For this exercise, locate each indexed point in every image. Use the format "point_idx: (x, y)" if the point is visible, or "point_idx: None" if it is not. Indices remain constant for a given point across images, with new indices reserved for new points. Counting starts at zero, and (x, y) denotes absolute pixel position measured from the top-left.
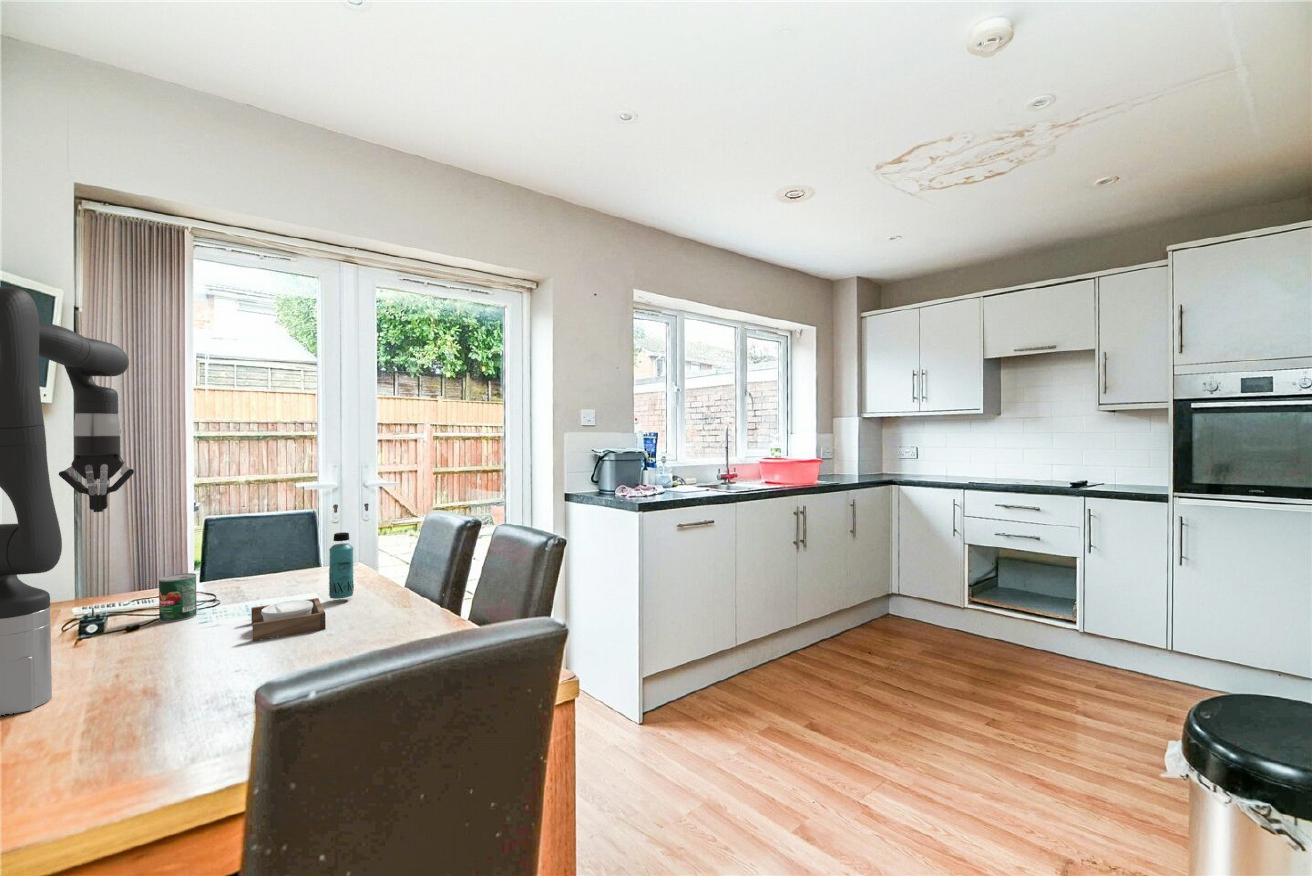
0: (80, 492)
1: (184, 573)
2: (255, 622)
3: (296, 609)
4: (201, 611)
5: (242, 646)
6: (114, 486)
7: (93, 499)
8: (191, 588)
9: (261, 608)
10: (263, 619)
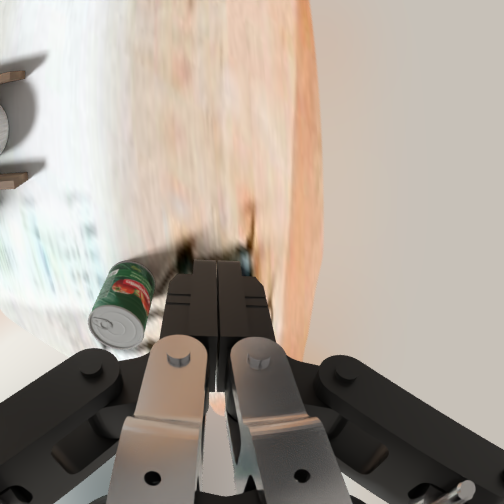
0: (345, 358)
1: (111, 346)
2: (22, 172)
3: None
4: None
5: (37, 52)
6: (75, 389)
7: (245, 314)
8: (97, 298)
9: (3, 180)
10: (2, 127)
